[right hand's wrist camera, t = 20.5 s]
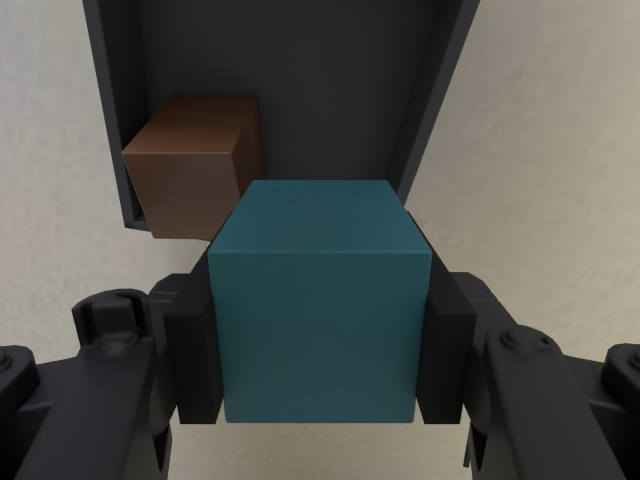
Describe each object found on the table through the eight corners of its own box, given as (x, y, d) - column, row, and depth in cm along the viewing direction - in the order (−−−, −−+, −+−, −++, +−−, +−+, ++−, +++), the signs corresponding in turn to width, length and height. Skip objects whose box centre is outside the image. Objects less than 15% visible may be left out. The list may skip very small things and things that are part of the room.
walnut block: (268, 172, 24) (248, 240, 19) (190, 172, 24) (153, 239, 19) (257, 94, 21) (231, 152, 16) (170, 95, 21) (119, 152, 16)
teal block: (380, 298, 15) (414, 424, 10) (259, 298, 15) (225, 424, 10) (387, 179, 14) (433, 251, 8) (252, 179, 14) (205, 250, 8)
